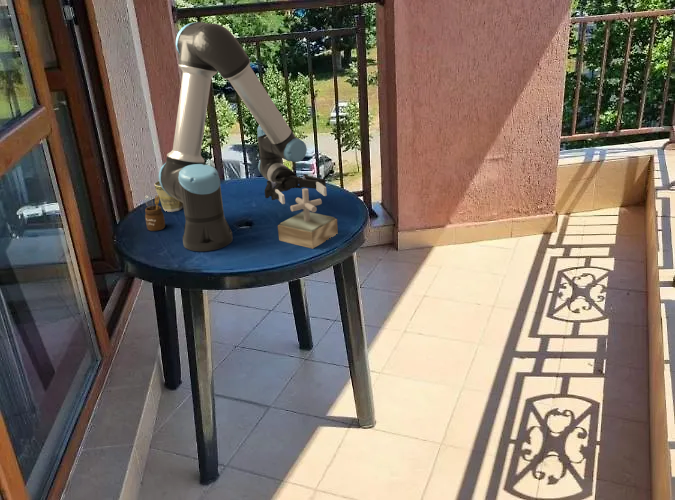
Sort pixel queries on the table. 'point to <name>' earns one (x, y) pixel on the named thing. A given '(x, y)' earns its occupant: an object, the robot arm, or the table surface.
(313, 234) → the lidded wooden box
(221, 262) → the table surface
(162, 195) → the ceramic cup
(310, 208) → the pipe connector
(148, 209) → the utensil holder
